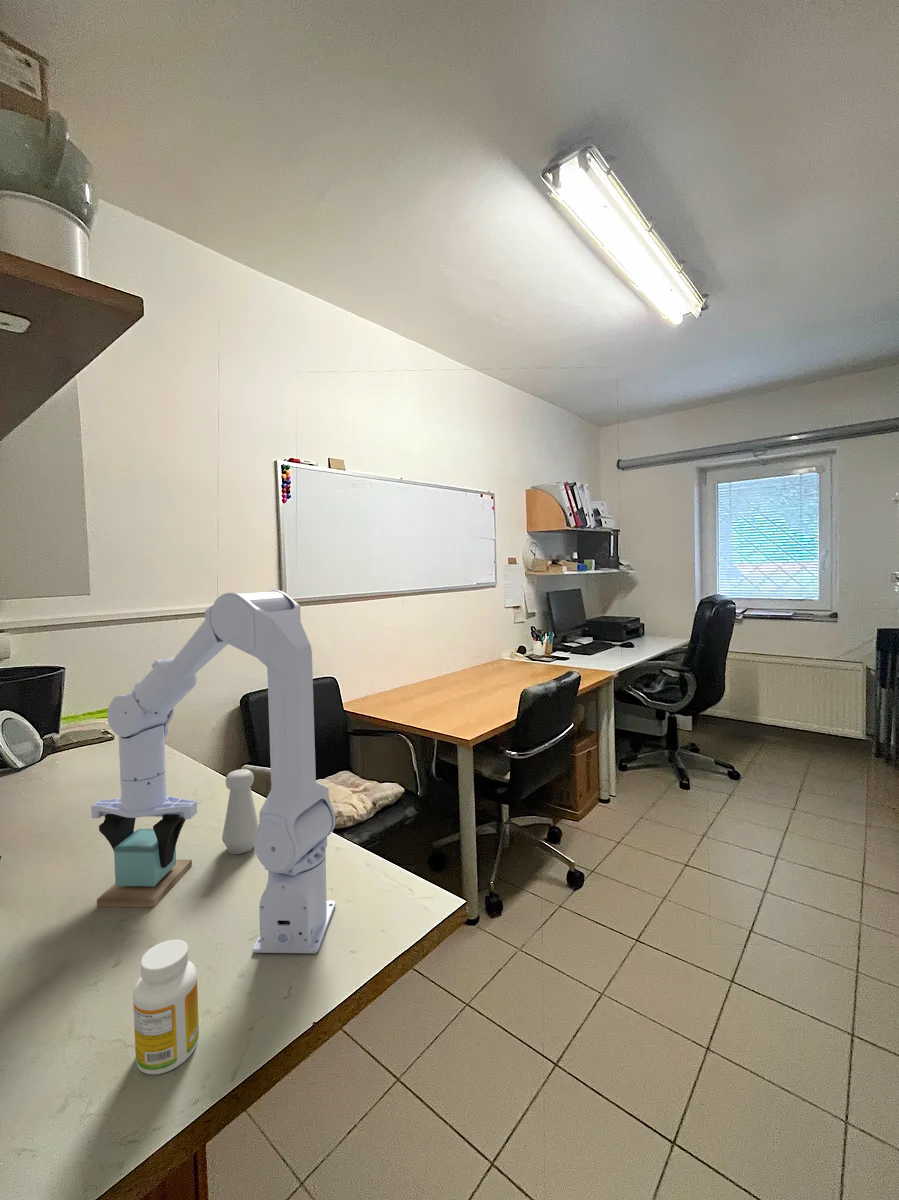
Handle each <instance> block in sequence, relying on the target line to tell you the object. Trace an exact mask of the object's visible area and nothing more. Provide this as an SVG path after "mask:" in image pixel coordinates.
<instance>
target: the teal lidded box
mask: <svg viewBox="0 0 899 1200" xmlns="http://www.w3.org/2000/svg"><path fill="white" fill-rule="evenodd" d="M176 848H177V846H176V847H175V851H174V856H173V861H172V862H171V863H170V864H169V865H168V866H167V867H166V868H161V864H160V858H159V846H158V841H157V837H156V834H155V832H154V830H153V828H137V829H136V830H134V833H132V834H131V835H130V836H129V837H127V838H126V839H125V840H124V841H122V842H121V843H120V844H119V845H117V846H116V847H115V848H114V850H113V852H114V853H113V855H114V858H113V859H114V878H115V880H114V881H115V883H114V884H116V886H155V885H156V884H157V883H158V882H159V881H160V880H161V879H162V878H163V877H164V876H165V875H166V874H167V873H168V872H169V871H170V870H171V869H172V868H173V867H174V866H175V865H176V860H177V852H176V851H177V849H176Z"/></svg>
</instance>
